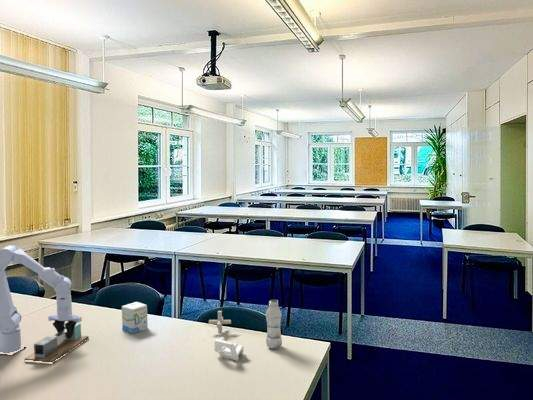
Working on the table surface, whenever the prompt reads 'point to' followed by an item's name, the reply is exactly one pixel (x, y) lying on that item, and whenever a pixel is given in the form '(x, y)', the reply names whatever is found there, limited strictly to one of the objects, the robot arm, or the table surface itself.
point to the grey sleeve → (45, 347)
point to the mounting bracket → (228, 349)
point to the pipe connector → (219, 322)
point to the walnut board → (60, 349)
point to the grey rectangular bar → (61, 336)
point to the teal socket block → (75, 332)
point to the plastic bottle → (273, 325)
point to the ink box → (134, 317)
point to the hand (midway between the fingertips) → (65, 337)
